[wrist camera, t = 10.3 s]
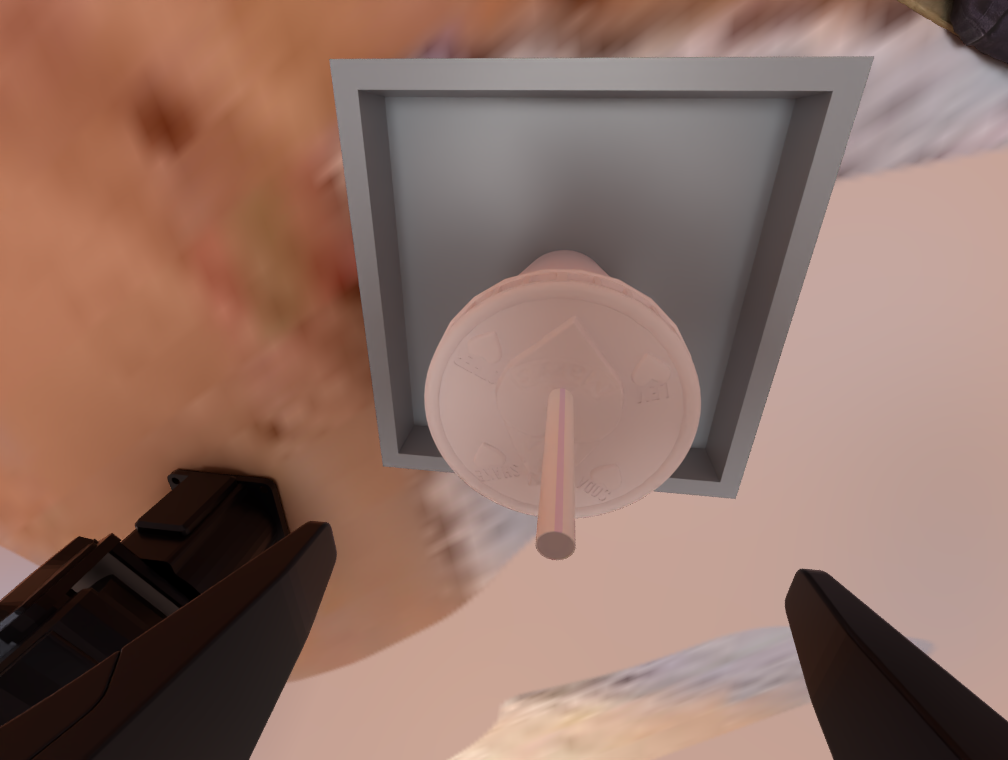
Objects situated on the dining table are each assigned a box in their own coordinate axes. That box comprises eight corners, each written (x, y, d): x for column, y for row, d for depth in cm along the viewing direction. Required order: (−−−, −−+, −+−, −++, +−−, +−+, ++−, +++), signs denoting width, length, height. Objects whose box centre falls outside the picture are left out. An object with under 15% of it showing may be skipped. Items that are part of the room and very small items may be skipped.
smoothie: (660, 225, 17) (885, 423, 5) (623, 375, 20) (706, 733, 8) (493, 204, 18) (319, 339, 5) (480, 354, 21) (348, 663, 8)
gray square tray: (715, 456, 22) (735, 498, 20) (403, 430, 24) (382, 466, 21) (821, 71, 15) (874, 56, 13) (367, 72, 17) (329, 59, 14)
